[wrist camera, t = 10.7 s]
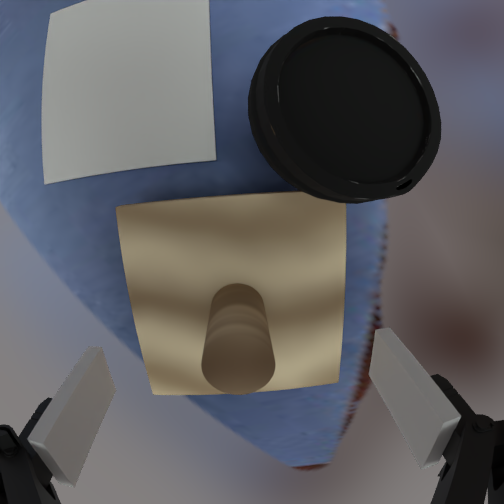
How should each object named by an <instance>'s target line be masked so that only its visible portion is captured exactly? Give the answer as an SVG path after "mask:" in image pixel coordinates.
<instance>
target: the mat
mask: <svg viewBox="0 0 504 504" xmlns="http://www.w3.org/2000/svg"><path fill="white" fill-rule="evenodd" d="M42 155H43V172H44V184H50V183H55V182H60V181H65V180H71V179H76V178H82V177H87V176H93V175H99V174H105V173H112V172H118V171H125V170H132V169H139V168H147V167H155V166H163V165H172V164H182V163H191V162H202V161H214V160H217V159H216V143H215V126H214V108H213V88H212V67H211V41H210V10H209V0H86V1H83V2H80V3H78V4H75V5H72V6H69V7H66V8H64V9H61V10H59V11H56V12H54V13H51V15H50V21H49V27H48V34H47V42H46V50H45V60H44V72H43V88H42Z"/></svg>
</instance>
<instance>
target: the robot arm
mask: <svg viewBox="0 0 504 504" xmlns="http://www.w3.org/2000/svg"><path fill="white" fill-rule="evenodd" d="M369 376H370V378H371V380H372V381H373V383H374V385H375V387H376V388H377V390H378V392H379V394H380V396H381V397H382V399H383V401H384V403H385V404H386V406H387V408H388V410H389V411H390V413H391V415H392V417H393V419H394V421H395V422H396V424H397V426H398V428H399V430H400V431H401V433H402V435H403V437H404V439H405V440H406V442H407V444H408V446H409V448H410V450H411V452H412V453H413V455H414V457H415V459H416V461H417V463H418V465H419V467H420V469H421V470H422V469H425V468H428V467H430V466H433V465H436V464H438V462H439V460H440V458H441V456H442V455H443V456H444V458H445V459H446V463H445V465H444V466H443V468H442V469H441V471H440V473H439V474H438V476H440V479H439V482H438V485H437V488H436V490H435V493H434V496H433V499H432V501H431V504H484V500H485V496H486V492H487V487H488V504H504V420H501V421H493V419H491V418H490V417H488V416H485V415H478V414H477V415H476V414H475V413H474V411H473V410H472V409H471V408H470V407H469V405H468V404H467V403H466V402H465V400H464V399H463V398H462V397H461V396H460V394H458V392H457V391H456V390H455V389H453V386H452V385H451V384H450V383H449V381H448V380H447V379H445V378H444V377H442V376H440V375H439V374H436V375H432V376H429V374H428V373H427V372H426V371H425V370H424V368H423V367H422V366H421V365H420V363H419V362H418V361H417V360H416V359H415V357H414V356H413V355H412V354H411V352H410V351H409V350H408V349H407V348H406V346H405V345H404V344H403V343H402V342H401V340H400V339H399V338H398V337H397V336H396V335H395V333H394V332H393V331H392V330H391V329H390V328H383V329H377V330H375V338H374V345H373V352H372V358H371V365H370V371H369ZM115 392H116V388H115V386H114V383H113V380H112V377H111V374H110V371H109V368H108V365H107V362H106V359H105V356H104V353H103V350H102V347H88V348H87V349H86V351H85V352H84V354H83V355H82V356H81V358H80V359H79V361H78V362H77V363H76V365H75V366H74V368H73V370H72V371H71V372H70V374H69V375H68V377H67V378H66V380H65V381H64V382H63V384H62V385H61V387H60V388H59V390H58V391H57V393H56V395H55V396H54V397H53V398H47V399H46V400H44V401H43V402H42V403H41V404H40V405H39V406H38V408H37V409H36V411H35V413H34V414H33V415H32V417H31V419H30V420H29V421H28V423H27V424H26V426H25V428H24V429H23V431H22V432H21V434H20V435H19V437H18V436H17V435H16V433H15V431H14V430H13V428H11V427H10V426H9V425H0V504H61V503H60V500H59V498H58V496H57V493H56V491H55V489H54V486H53V484H52V483H51V482H50V480H51V478H52V476H54V477H55V479H56V480H57V481H58V482H59V483H60V484H63V485H67V486H71V487H75V485H76V482H77V480H78V478H79V475H80V473H81V470H82V468H83V465H84V463H85V460H86V458H87V456H88V453H89V451H90V449H91V446H92V444H93V441H94V439H95V437H96V434H97V432H98V430H99V427H100V425H101V423H102V421H103V419H104V416H105V414H106V412H107V410H108V407H109V405H110V403H111V401H112V399H113V396H114V394H115Z"/></svg>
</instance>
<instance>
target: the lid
mask: <svg viewBox="0 0 504 504" xmlns="http://www.w3.org/2000/svg"><path fill="white" fill-rule="evenodd" d="M115 208H116V216H117V224H118V232H119V239H120V246H121V252H122V259H123V265H124V271H125V276H126V282H127V287H128V293H129V298H130V303H131V308H132V312H133V317H134V322H135V326H136V330H137V335H138V339H139V343H140V347H141V351H142V355H143V359H144V363H145V367H146V370H147V374H148V377H149V381H150V385H151V388H152V392H153V395H154V394H155V395H208V394H235V395H242V394H249V393H252V392H262V391H274V390H284V389H293V388H302V387H310V386H317V385H324V384H331V383H337V382H338V380H339V370H340V359H341V347H342V334H343V319H344V300H345V274H346V203H337V202H333V201H328V200H324V199H319V198H316V197H313V196H311V195H309V194H306V193H304V192H302V191H283V192H265V193H248V194H234V195H220V196H208V197H196V198H185V199H174V200H164V201H154V202H145V203H136V204H127V205H121V206H118V207H115Z"/></svg>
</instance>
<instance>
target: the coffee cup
mask: <svg viewBox="0 0 504 504" xmlns="http://www.w3.org/2000/svg"><path fill="white" fill-rule="evenodd" d="M248 116H249V121H250V125H251V130H252V134H253V136H254V139H255V141H256V143H257V145H258V148H259V150H260V152H261V153H262V155H263V156H264V158H265V159H266V160H267V162H268V163H269V165H270V166H271V167H272V168H273V169H274V170H275V171H276V172H277V173H278V174H279V175H280V176H281V177H282V178H283V179H284V180H285V181H286V182H288V183H289V184H291V185H292V186H294V187H295V188H297V189H298V190H300V191H302V192H304V193H306V194H309V195H311V196H313V197H316V198H319V199H324V200H328V201H333V202H337V203H354V204H358V203H363V202H369V201H374V200H378V199H385V198H390V197H395V196H399V195H403V194H405V193H407V192H409V191H410V190H411V189H412V188H413V187H414V186H415V185H416V184H417V183H418V182H419V181H420V180H421V178H422V177H423V176H424V175H425V173H426V172H427V170H428V169H429V168H430V166H431V164H432V163H433V160H434V159H435V156H436V154H437V152H438V148H439V144H440V140H441V119H440V112H439V107H438V103H437V101H436V97H435V94H434V91H433V89H432V87H431V84H430V82H429V80H428V78H427V77H426V74H425V73H424V71H423V70H422V68H421V67H420V65H419V64H418V62H417V61H416V60H415V59H414V57H413V56H412V55H411V54H410V53H409V52H408V51H407V49H406V48H405V47H404V46H403V45H401V44H400V43H399V42H398V41H397V40H396V39H394V38H393V37H392V36H391V35H389V34H388V33H386V32H384V31H383V30H381V29H379V28H378V27H376V26H374V25H371V24H369V23H366V22H363V21H361V20H358V19H353V18H347V17H321V18H316V19H312V20H308V21H306V22H304V23H302V24H300V25H298V26H296V27H294V28H293V29H292V30H291V31H289V32H288V33H287V34H285V35H283V36H282V37H281V38H280V39H279V40H277V41H276V42H275V43H274V44H273V45H271V46H270V48H269V49H268V50H267V52H266V53H265V54H264V56H263V57H262V58H261V60H260V62H259V64H258V66H257V69H256V71H255V73H254V76H253V78H252V81H251V85H250V90H249V95H248Z"/></svg>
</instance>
